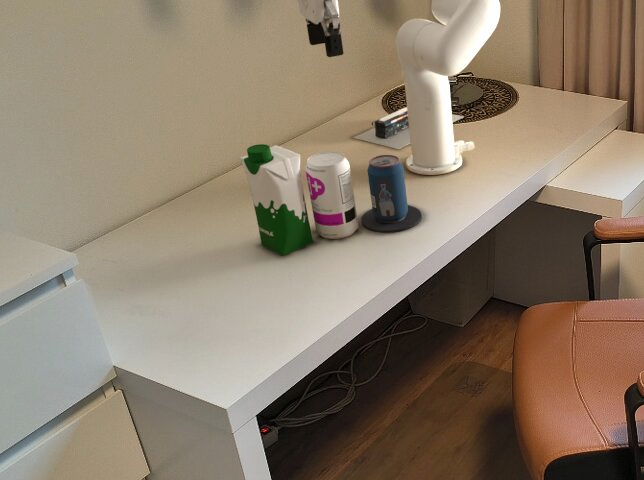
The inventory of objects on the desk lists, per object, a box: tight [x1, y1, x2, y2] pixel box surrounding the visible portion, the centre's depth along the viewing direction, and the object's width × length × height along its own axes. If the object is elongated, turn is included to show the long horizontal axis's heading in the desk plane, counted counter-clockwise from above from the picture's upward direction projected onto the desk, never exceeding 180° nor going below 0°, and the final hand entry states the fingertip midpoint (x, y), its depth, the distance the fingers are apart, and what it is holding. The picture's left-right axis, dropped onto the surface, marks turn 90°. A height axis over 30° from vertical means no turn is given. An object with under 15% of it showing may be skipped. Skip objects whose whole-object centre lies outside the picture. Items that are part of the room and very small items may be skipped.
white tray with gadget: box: [352, 106, 465, 150], centre depth 223 cm, size 14×25×4 cm, turn 146°
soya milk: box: [239, 143, 314, 257], centre depth 168 cm, size 9×9×20 cm
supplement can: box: [304, 151, 359, 240], centre depth 174 cm, size 8×8×15 cm
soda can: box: [366, 154, 409, 223], centre depth 178 cm, size 7×7×12 cm
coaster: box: [360, 204, 423, 234], centre depth 182 cm, size 12×12×1 cm
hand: (326, 49), depth 176 cm, fingers open, 9 cm apart
